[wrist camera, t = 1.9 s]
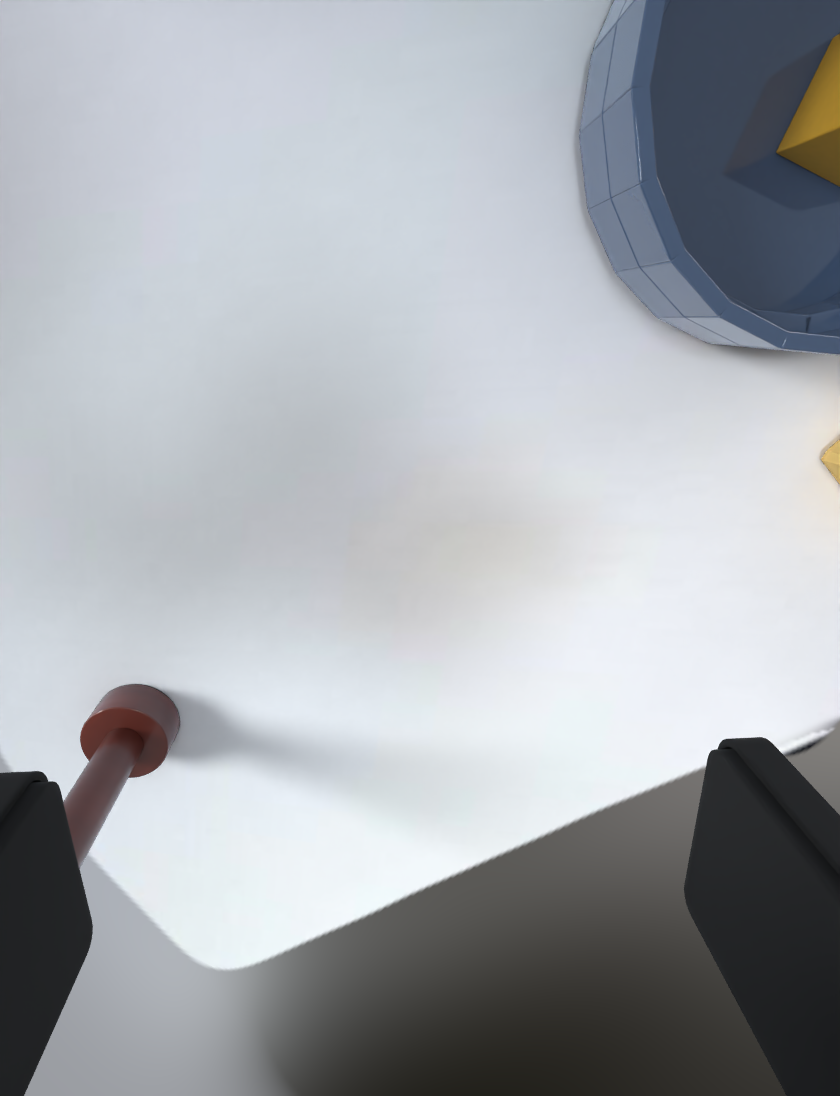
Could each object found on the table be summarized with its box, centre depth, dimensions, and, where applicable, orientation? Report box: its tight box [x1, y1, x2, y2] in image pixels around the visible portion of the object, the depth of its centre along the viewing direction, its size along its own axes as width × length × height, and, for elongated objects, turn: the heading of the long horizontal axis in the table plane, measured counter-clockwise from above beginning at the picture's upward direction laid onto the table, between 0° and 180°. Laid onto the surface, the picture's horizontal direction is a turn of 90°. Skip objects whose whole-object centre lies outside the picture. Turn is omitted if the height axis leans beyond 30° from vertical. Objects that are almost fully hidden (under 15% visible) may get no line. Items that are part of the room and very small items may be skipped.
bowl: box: [579, 0, 840, 355], centre depth 22 cm, size 16×16×6 cm
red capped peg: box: [63, 684, 180, 869], centre depth 25 cm, size 4×4×14 cm
